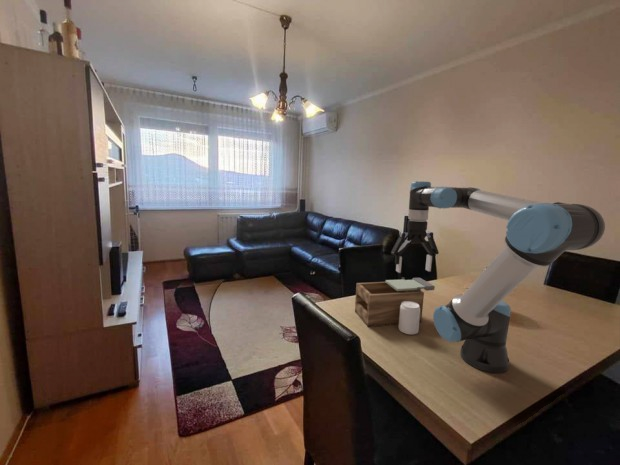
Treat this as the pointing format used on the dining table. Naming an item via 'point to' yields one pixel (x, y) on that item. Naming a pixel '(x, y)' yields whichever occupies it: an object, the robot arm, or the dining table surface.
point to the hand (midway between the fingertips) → (413, 271)
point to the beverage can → (409, 317)
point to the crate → (383, 303)
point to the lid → (410, 284)
